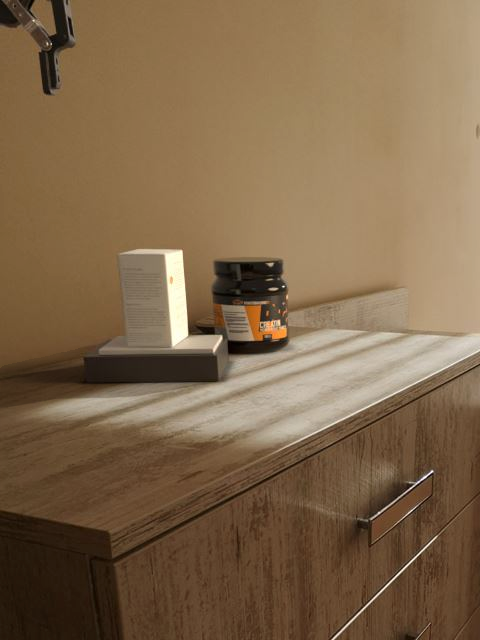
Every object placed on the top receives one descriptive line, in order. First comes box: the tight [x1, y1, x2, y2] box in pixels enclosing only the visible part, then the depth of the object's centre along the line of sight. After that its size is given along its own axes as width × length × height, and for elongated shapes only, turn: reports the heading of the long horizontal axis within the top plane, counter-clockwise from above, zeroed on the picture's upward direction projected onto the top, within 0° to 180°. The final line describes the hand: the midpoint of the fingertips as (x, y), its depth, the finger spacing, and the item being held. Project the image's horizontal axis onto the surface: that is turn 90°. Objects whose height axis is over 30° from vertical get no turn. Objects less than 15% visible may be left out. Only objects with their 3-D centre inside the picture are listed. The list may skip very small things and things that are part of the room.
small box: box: [116, 248, 189, 347], centre depth 97 cm, size 8×6×10 cm
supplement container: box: [210, 256, 291, 354], centre depth 113 cm, size 10×10×12 cm
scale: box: [83, 334, 229, 384], centre depth 99 cm, size 15×12×4 cm
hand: (6, 94), depth 83 cm, fingers open, 8 cm apart
